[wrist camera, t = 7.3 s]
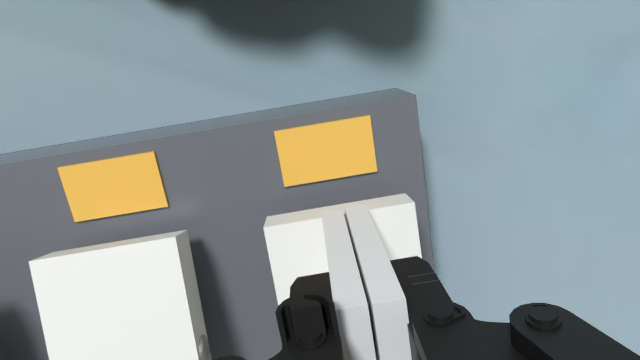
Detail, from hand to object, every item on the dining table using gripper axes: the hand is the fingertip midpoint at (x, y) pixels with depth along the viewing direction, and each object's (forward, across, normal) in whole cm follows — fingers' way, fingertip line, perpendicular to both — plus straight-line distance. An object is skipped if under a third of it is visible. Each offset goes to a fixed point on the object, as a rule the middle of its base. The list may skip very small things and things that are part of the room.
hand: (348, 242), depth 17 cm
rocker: (+1, -9, -4) cm, 10 cm away
